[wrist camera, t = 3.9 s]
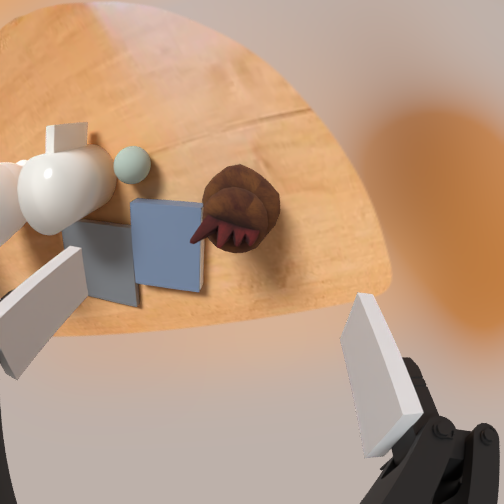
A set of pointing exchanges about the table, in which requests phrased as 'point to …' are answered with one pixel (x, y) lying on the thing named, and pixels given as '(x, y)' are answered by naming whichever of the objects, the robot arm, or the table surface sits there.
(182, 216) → the book
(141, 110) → the table surface
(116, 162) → the ball
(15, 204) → the jar
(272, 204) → the wooden figurine
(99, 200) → the mug
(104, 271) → the coaster
